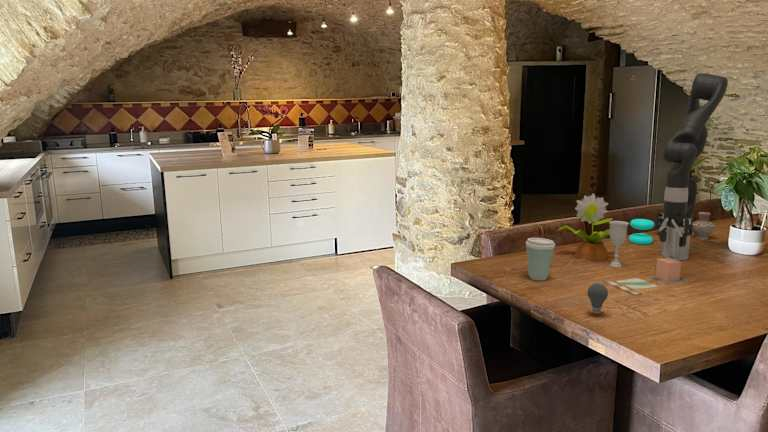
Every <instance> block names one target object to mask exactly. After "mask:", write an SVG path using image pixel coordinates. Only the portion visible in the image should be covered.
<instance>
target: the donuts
mask: <svg viewBox="0 0 768 432" xmlns="http://www.w3.org/2000/svg"><path fill="white" fill-rule="evenodd" d="M629 226H630V227H632V228H634V229H636V230H640V231H642V230H643V231H645V230H647V231H648V230H651V229H653V228H655V222H654V221H653V220H650V219H645V218H635V219H632V220H630V222H629ZM628 241H629V242H631V243H632V244H635V245H636V244H637V245H650V244H652V243H653V241H654V238H653V236H651V235H649V234H648V233H643V232H640V233H639V232H637V233H635V232H634V233H632V234H630V235H629V237H628Z"/></svg>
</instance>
